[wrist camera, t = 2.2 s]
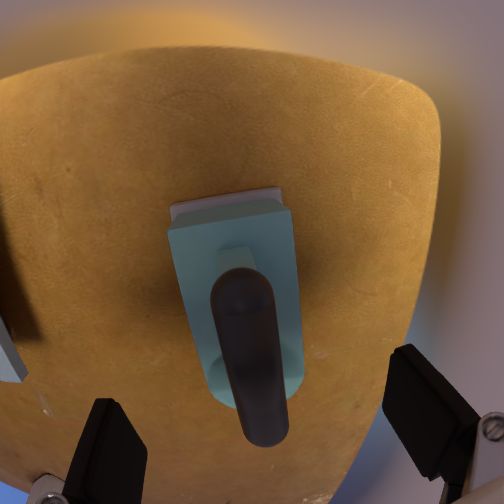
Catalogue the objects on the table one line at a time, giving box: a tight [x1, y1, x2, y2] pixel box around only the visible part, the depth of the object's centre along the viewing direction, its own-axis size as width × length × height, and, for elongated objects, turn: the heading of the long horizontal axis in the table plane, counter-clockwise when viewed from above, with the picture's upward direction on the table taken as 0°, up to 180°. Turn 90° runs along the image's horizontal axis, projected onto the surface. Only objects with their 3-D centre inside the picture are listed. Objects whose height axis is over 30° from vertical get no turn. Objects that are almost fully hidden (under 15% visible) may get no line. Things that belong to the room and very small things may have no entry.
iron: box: [167, 187, 305, 447], centre depth 14 cm, size 12×6×9 cm, turn 8°
